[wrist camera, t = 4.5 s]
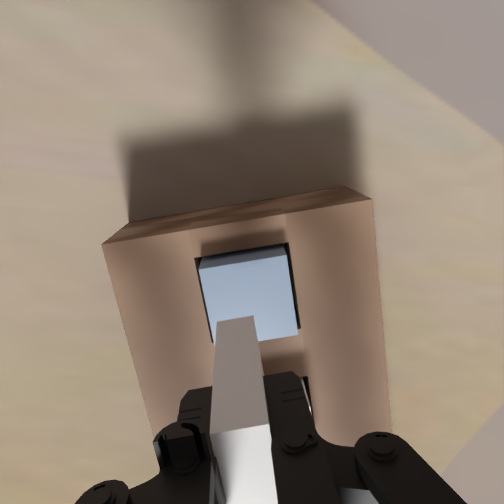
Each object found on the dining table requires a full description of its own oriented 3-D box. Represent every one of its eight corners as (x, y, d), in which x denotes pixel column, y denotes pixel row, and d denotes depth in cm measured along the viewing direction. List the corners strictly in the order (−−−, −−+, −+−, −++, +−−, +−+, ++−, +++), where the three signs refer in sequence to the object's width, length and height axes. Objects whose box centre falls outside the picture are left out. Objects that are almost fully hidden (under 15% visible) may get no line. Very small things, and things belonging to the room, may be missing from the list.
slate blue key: (217, 323, 24) (215, 348, 22) (203, 253, 23) (198, 269, 20) (291, 311, 24) (298, 334, 22) (280, 240, 23) (286, 255, 20)
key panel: (201, 513, 33) (194, 586, 28) (128, 222, 26) (101, 244, 21) (375, 486, 33) (401, 553, 28) (345, 186, 26) (372, 199, 21)
